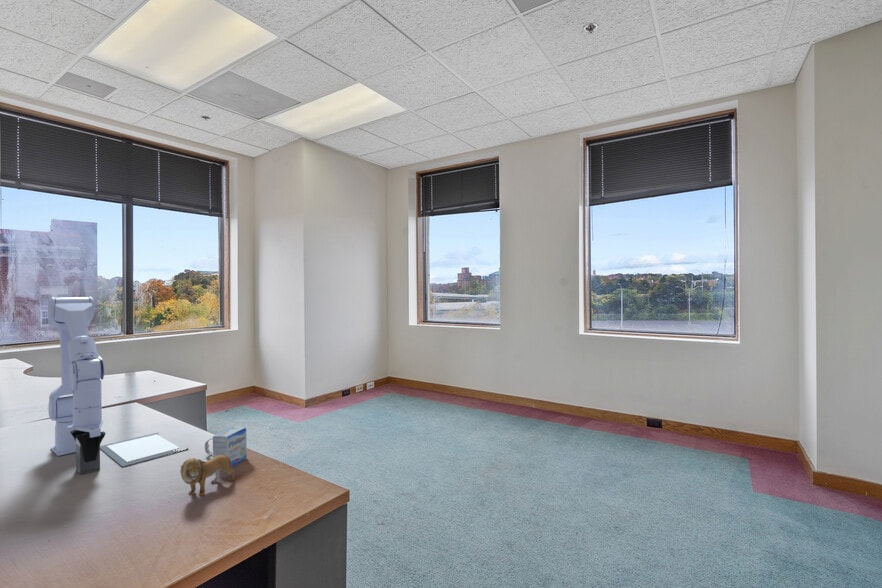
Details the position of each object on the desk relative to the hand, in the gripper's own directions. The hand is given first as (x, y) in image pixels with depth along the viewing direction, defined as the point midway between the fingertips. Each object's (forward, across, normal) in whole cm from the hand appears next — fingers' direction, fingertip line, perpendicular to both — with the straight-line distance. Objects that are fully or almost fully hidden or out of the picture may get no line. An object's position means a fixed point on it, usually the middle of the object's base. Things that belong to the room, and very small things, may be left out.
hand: (88, 458), depth 112 cm
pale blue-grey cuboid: (+3, 0, 0) cm, 3 cm away
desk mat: (+3, -6, +14) cm, 16 cm away
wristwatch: (+3, +15, +25) cm, 29 cm away
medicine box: (+3, +24, +25) cm, 35 cm away
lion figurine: (+3, +35, +15) cm, 38 cm away
